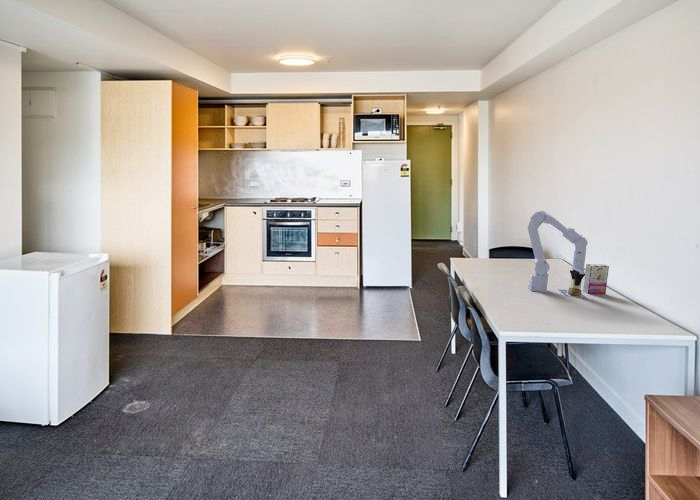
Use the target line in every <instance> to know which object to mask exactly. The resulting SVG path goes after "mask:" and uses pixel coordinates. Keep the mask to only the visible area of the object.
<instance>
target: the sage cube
mask: <svg viewBox="0 0 700 500" xmlns="http://www.w3.org/2000/svg"><path fill="white" fill-rule="evenodd" d="M582 282H583V280H582V281H581V283H580V285H579V286H575V279H572V278H571V280H570V288H579V289H580V290H582Z"/></svg>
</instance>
